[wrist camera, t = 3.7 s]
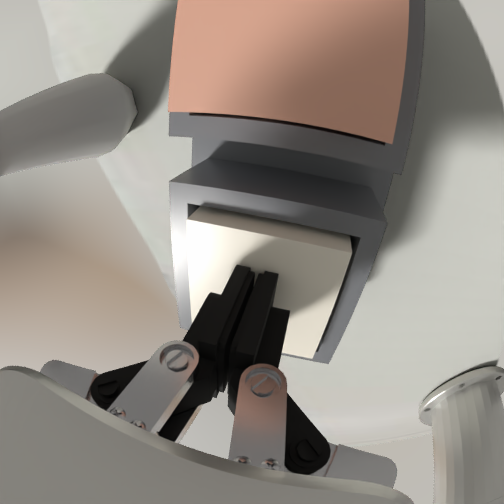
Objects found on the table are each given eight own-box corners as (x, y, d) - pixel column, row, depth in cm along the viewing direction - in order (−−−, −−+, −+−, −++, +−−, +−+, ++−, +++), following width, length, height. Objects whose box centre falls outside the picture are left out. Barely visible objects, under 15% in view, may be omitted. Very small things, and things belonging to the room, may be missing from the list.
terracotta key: (370, 129, 9) (392, 144, 6) (213, 105, 10) (168, 112, 7) (385, -9, 6) (407, -46, 3) (227, -25, 6) (189, -60, 4)
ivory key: (317, 310, 15) (312, 358, 12) (215, 287, 16) (192, 329, 13) (346, 213, 12) (351, 253, 9) (219, 188, 13) (186, 219, 10)
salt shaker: (137, 59, 14) (-50, 80, 3) (157, 133, 16) (-23, 217, 6) (82, 93, 16) (-69, 141, 5) (100, 157, 18) (-43, 238, 8)
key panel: (340, 296, 20) (339, 375, 14) (209, 267, 21) (167, 333, 15) (402, 7, 9) (444, -39, 3) (228, -16, 10) (172, -63, 4)
